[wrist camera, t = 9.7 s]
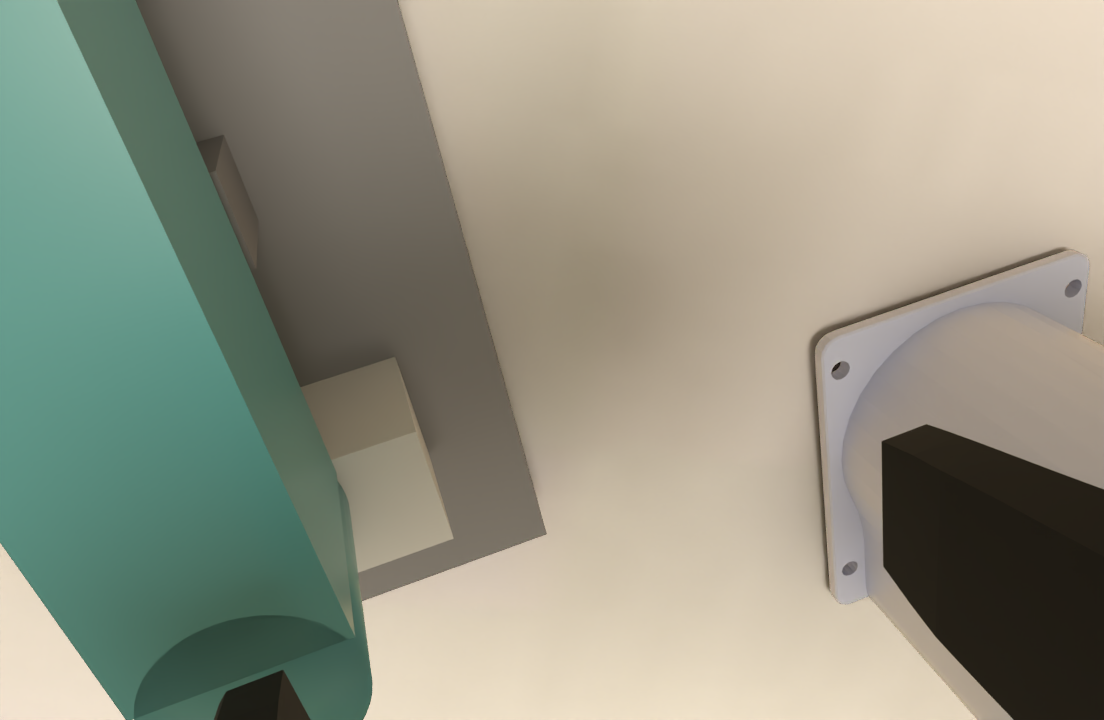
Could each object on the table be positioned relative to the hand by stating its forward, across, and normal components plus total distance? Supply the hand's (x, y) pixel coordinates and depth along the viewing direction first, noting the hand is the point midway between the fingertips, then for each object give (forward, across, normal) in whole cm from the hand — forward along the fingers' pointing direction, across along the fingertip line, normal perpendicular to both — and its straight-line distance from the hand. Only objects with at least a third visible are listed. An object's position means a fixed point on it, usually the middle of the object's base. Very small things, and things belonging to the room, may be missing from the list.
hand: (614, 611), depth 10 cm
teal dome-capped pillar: (+6, +5, -4) cm, 8 cm away
